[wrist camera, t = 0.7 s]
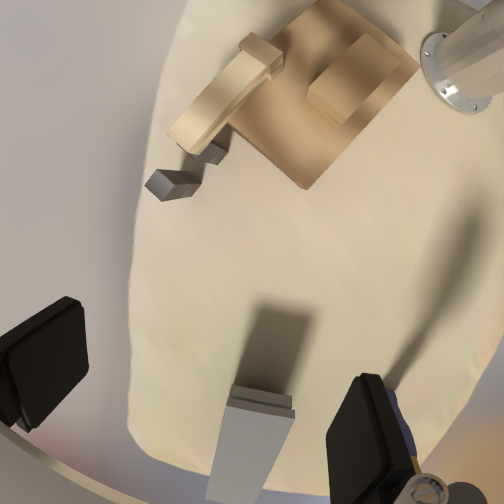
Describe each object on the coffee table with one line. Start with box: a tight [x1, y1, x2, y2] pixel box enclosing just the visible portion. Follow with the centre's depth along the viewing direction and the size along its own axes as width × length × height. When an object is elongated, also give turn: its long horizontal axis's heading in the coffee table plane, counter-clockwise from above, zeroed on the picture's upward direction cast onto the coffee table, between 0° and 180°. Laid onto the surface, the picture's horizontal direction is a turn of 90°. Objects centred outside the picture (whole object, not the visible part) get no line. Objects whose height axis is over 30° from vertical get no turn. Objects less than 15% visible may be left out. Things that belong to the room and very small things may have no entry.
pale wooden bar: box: [166, 32, 283, 156], centre depth 22 cm, size 11×3×4 cm, turn 139°
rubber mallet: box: [385, 388, 487, 504], centre depth 26 cm, size 12×8×30 cm, turn 162°
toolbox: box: [144, 122, 306, 202], centre depth 29 cm, size 28×12×10 cm, turn 139°
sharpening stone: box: [205, 384, 295, 504], centre depth 38 cm, size 25×8×11 cm, turn 168°
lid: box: [228, 0, 421, 190], centre depth 21 cm, size 18×12×8 cm, turn 139°
